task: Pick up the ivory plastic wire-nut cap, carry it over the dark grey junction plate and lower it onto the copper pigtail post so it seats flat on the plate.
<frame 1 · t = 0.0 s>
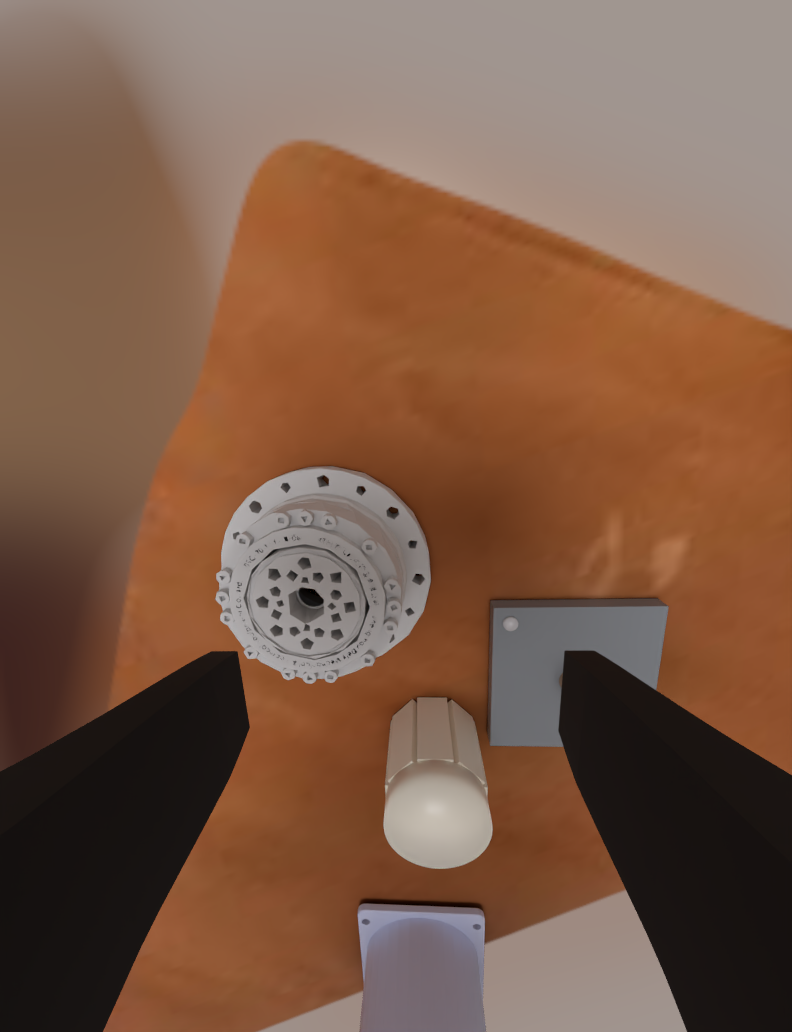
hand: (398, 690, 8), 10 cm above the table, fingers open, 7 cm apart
wire nut: (432, 732, 20), on the table
junction plate: (567, 670, 19), on the table
mechanical component: (332, 562, 19), on the table
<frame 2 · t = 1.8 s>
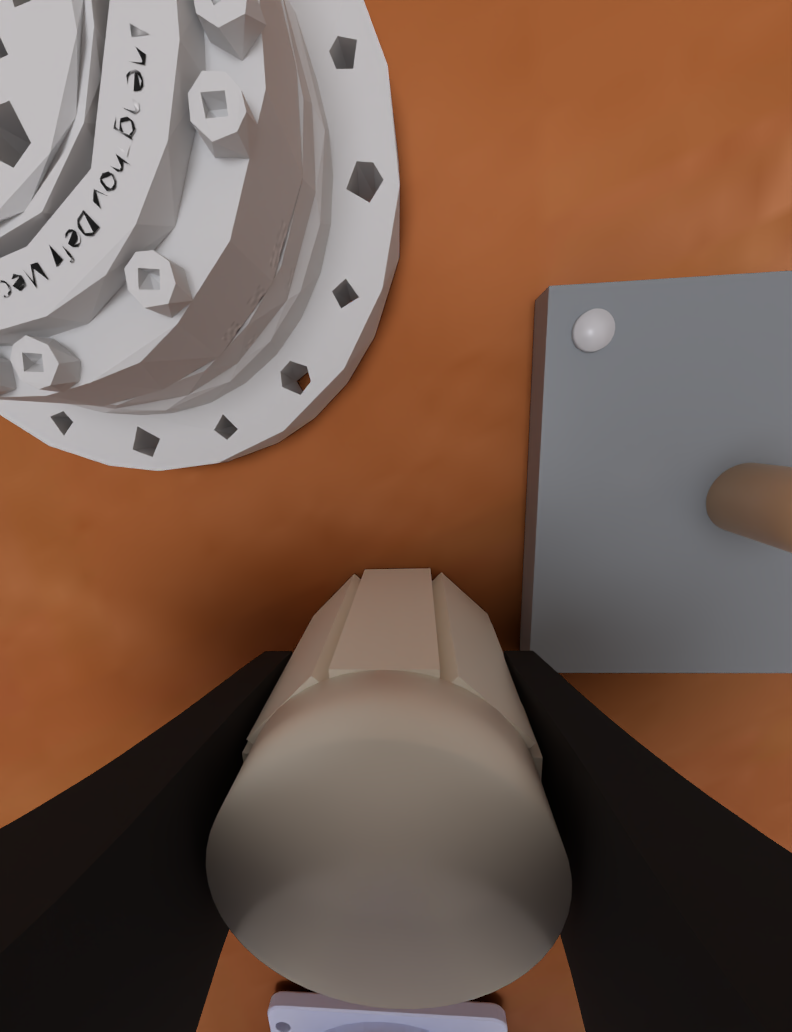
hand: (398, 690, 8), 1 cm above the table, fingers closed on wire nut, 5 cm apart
wire nut: (400, 652, 9), on the table, touching gripper
junction plate: (712, 491, 8), on the table
mechanical component: (171, 229, 8), on the table
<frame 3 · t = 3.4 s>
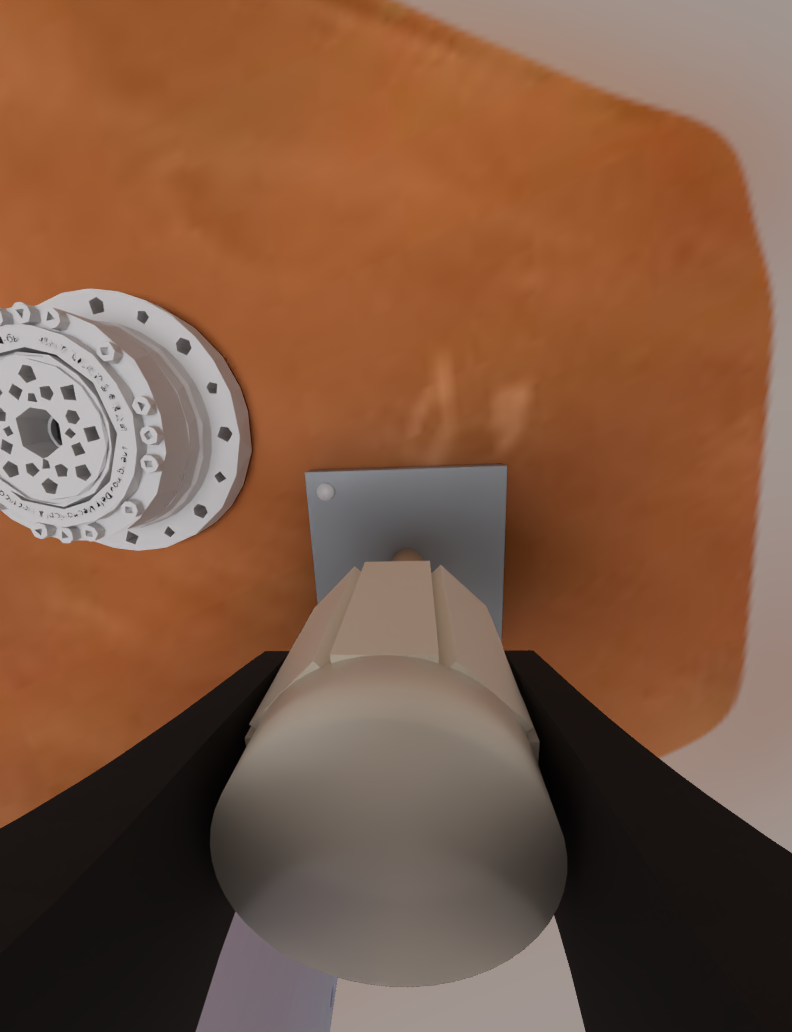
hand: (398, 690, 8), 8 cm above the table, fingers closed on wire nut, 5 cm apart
wire nut: (400, 644, 10), point 7 cm above the table, touching gripper
junction plate: (407, 557, 16), on the table
mechanical component: (145, 429, 16), on the table
when the fingers open (4 cm above the table, at t = 4.9 s): wire nut drops 1 cm, resting on junction plate.
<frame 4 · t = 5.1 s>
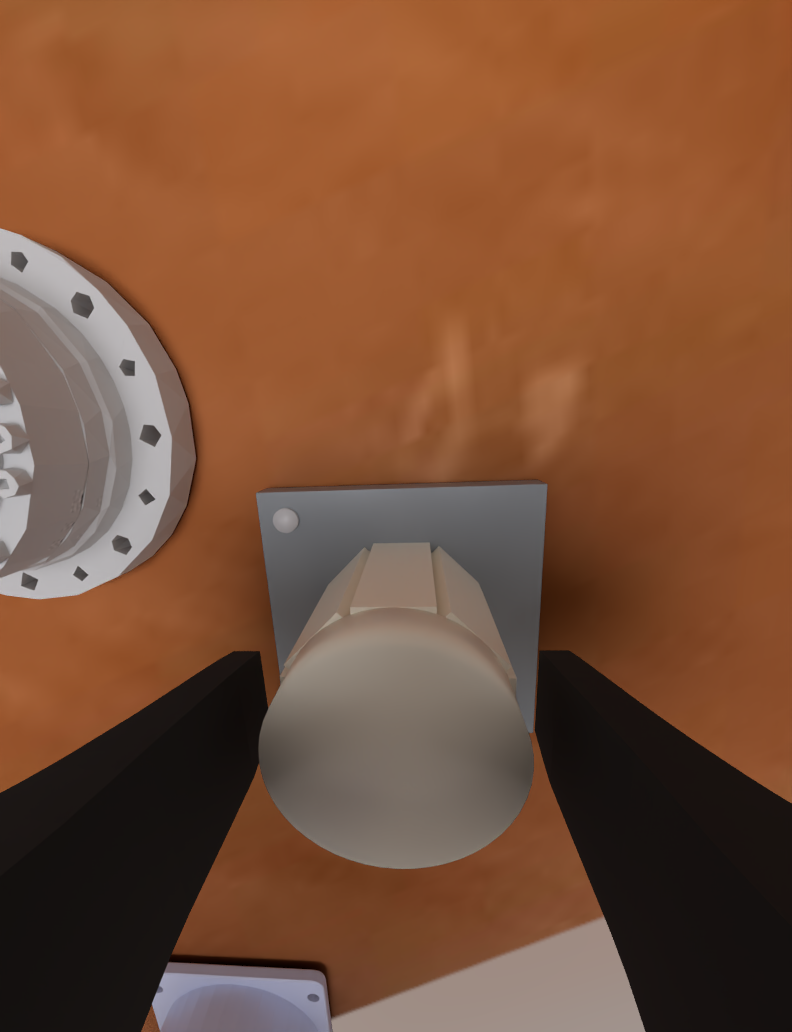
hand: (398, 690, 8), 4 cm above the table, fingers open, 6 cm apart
wire nut: (403, 616, 11), point 1 cm above the table, touching junction plate
junction plate: (404, 607, 12), on the table
mechanical component: (50, 430, 12), on the table
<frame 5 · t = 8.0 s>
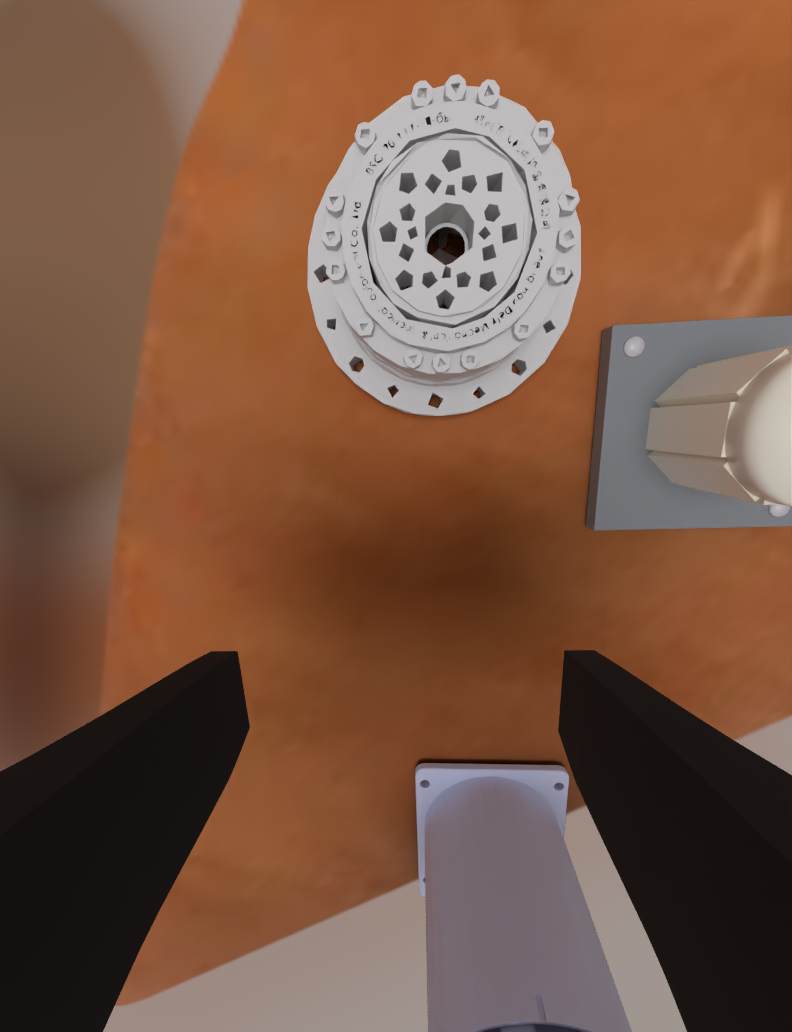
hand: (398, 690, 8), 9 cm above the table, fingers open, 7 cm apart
wire nut: (708, 426, 14), point 1 cm above the table, touching junction plate
junction plate: (692, 430, 15), on the table
mechanical component: (439, 290, 15), on the table
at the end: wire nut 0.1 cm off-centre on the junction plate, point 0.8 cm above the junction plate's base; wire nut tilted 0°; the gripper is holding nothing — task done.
